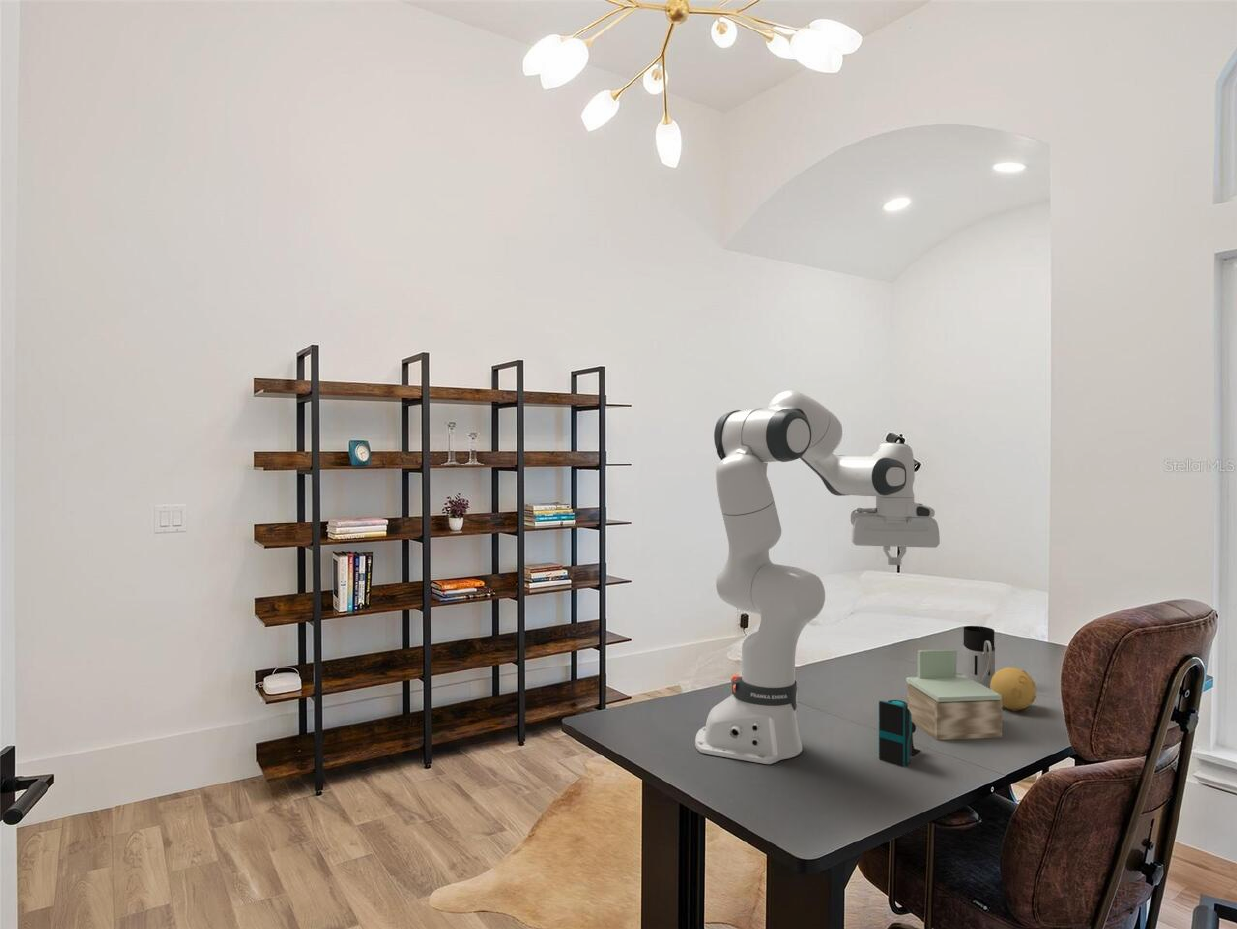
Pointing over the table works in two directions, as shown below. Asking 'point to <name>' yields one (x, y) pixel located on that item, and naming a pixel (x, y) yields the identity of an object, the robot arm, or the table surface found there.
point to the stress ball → (1014, 688)
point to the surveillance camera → (896, 732)
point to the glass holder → (979, 654)
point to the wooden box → (955, 717)
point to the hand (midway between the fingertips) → (894, 564)
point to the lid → (947, 679)
